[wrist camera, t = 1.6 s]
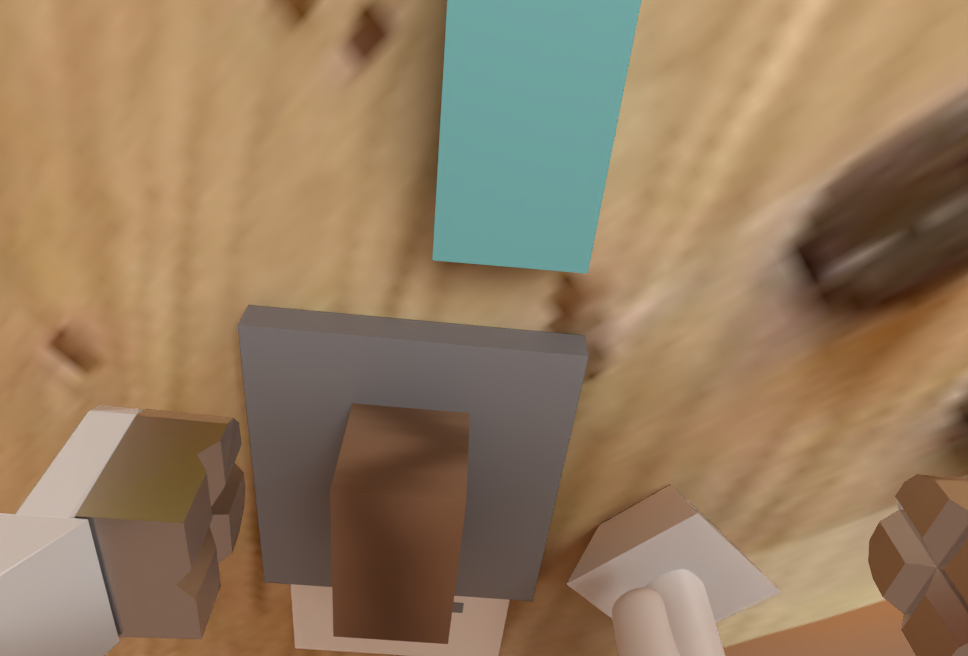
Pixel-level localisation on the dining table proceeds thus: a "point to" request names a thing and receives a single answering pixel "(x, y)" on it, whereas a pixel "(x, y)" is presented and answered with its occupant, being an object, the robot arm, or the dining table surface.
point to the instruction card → (466, 651)
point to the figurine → (667, 578)
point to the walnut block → (398, 522)
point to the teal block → (528, 128)
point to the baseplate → (420, 385)
